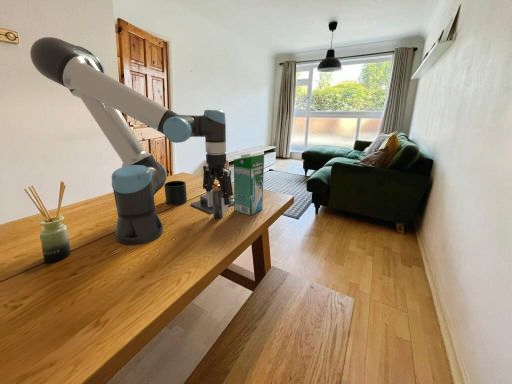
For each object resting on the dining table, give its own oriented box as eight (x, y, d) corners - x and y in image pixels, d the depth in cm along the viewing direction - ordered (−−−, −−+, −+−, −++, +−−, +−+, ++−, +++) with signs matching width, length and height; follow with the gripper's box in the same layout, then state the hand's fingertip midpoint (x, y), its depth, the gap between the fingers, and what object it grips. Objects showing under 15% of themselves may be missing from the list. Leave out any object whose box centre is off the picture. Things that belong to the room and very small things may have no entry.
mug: (191, 197, 123) (190, 179, 120) (182, 206, 111) (180, 187, 108) (173, 196, 124) (172, 178, 121) (162, 204, 112) (160, 186, 109)
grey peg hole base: (210, 213, 104) (209, 205, 103) (190, 205, 113) (190, 197, 111) (245, 200, 120) (245, 192, 119) (226, 193, 129) (226, 186, 127)
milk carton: (246, 204, 115) (247, 151, 107) (262, 209, 110) (264, 153, 102) (234, 210, 108) (233, 153, 100) (250, 215, 103) (251, 156, 95)
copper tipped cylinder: (217, 219, 99) (216, 186, 94) (211, 217, 101) (210, 184, 96) (224, 217, 101) (223, 184, 97) (218, 214, 104) (217, 182, 99)
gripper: (242, 155, 89) (242, 213, 96) (206, 148, 101) (208, 200, 109) (227, 158, 83) (228, 219, 91) (191, 150, 96) (194, 204, 104)
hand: (217, 208), depth 100 cm, fingers open, 8 cm apart
